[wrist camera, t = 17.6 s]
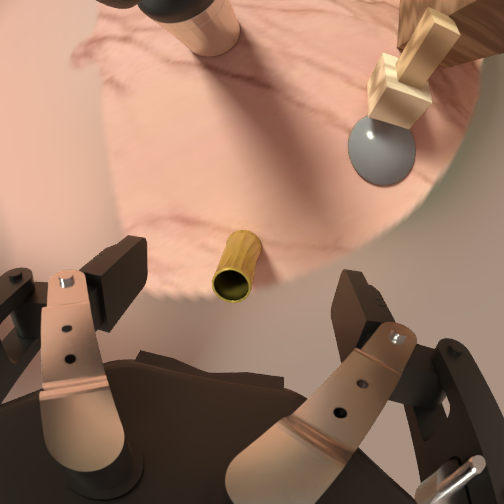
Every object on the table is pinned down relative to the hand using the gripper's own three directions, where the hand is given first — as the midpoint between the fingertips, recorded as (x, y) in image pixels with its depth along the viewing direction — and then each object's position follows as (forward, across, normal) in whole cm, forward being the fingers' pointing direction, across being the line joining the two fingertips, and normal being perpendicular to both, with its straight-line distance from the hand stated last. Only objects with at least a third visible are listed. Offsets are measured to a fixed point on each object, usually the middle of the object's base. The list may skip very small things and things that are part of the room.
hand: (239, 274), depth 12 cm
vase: (+38, +2, +14) cm, 41 cm away
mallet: (+26, -17, -16) cm, 35 cm away
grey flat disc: (+38, -18, -6) cm, 42 cm away
